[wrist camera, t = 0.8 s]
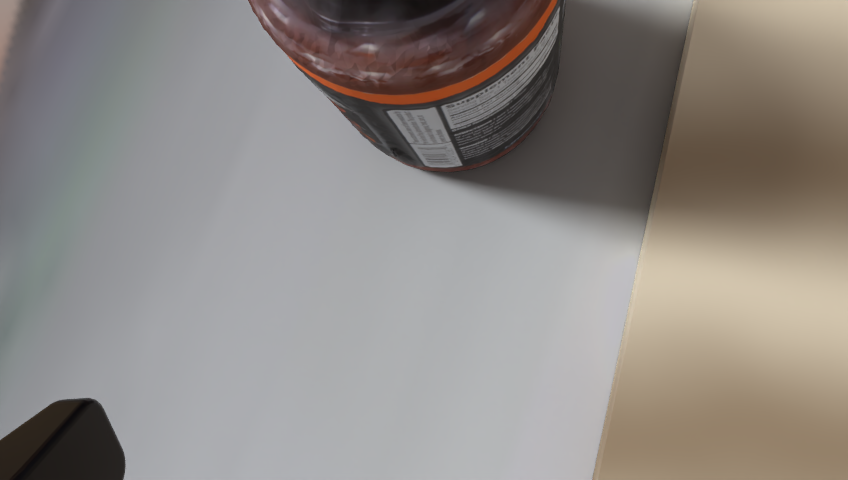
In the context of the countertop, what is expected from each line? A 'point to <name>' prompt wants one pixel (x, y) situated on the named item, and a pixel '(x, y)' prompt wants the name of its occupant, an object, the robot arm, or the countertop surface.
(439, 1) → the supplement bottle
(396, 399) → the countertop surface
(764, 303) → the birch board
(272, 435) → the countertop surface
